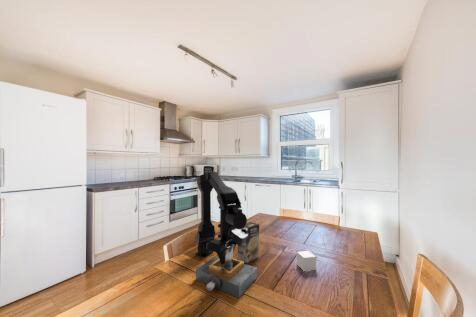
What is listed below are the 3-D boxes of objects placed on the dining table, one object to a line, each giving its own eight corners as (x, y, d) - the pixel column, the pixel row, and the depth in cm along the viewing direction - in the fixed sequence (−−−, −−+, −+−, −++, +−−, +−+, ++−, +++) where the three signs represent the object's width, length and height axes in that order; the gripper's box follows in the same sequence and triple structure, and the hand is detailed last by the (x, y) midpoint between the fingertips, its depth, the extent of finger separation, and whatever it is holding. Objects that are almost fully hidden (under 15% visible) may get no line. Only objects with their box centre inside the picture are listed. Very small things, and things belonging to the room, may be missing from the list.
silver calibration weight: (225, 260, 83) (225, 239, 83) (237, 264, 79) (237, 242, 80) (217, 265, 78) (218, 243, 78) (230, 270, 75) (230, 246, 75)
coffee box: (246, 263, 91) (247, 228, 91) (237, 258, 96) (237, 225, 96) (259, 257, 97) (259, 224, 98) (249, 252, 102) (250, 221, 102)
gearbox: (217, 264, 90) (217, 250, 90) (257, 278, 80) (257, 262, 80) (188, 285, 75) (188, 268, 75) (232, 305, 64) (232, 286, 64)
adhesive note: (316, 270, 86) (316, 256, 86) (303, 272, 84) (304, 258, 85) (308, 263, 92) (308, 250, 92) (296, 265, 90) (296, 251, 90)
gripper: (231, 232, 67) (230, 278, 67) (255, 219, 83) (255, 256, 83) (206, 226, 73) (205, 269, 73) (233, 215, 89) (232, 250, 89)
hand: (226, 260), depth 79 cm, fingers closed on silver calibration weight, 5 cm apart
